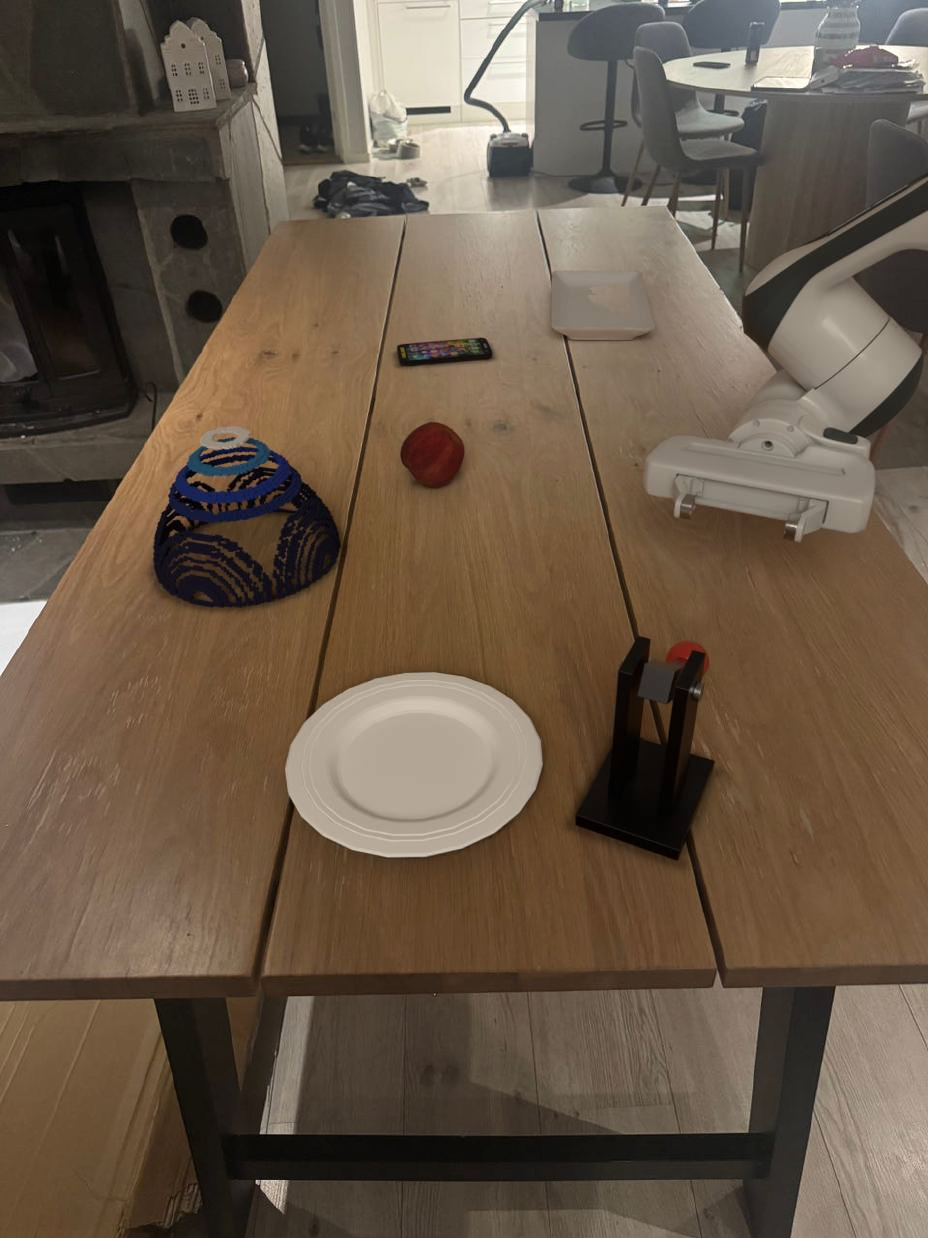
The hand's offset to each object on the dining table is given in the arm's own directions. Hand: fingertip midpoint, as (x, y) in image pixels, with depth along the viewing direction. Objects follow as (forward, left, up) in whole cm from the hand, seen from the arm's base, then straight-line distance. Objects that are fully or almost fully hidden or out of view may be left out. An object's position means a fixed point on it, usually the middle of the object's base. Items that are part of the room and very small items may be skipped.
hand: (736, 522), depth 79 cm
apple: (+40, -18, -14) cm, 46 cm away
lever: (0, +17, -6) cm, 18 cm away
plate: (+18, +26, -14) cm, 34 cm away
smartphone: (+59, -57, -14) cm, 83 cm away
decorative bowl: (+51, +5, -14) cm, 53 cm away
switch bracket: (0, +21, -14) cm, 25 cm away
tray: (+43, -84, -14) cm, 95 cm away
